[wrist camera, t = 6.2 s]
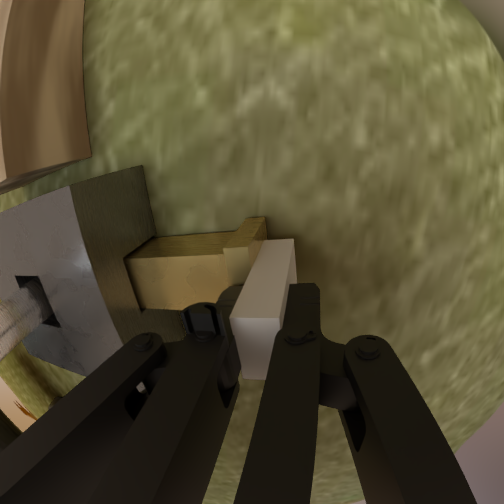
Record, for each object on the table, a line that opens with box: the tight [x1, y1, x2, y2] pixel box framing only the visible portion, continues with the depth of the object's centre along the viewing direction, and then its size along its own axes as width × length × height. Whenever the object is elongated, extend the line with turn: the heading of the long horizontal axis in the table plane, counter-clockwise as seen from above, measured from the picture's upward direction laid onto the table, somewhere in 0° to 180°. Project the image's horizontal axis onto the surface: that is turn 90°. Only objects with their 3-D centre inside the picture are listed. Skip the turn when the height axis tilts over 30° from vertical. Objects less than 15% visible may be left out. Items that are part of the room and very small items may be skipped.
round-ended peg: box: [0, 276, 54, 361], centre depth 12 cm, size 3×3×16 cm
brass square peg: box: [123, 217, 268, 310], centre depth 15 cm, size 10×4×4 cm, turn 98°
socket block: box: [0, 165, 185, 392], centre depth 16 cm, size 14×12×6 cm
